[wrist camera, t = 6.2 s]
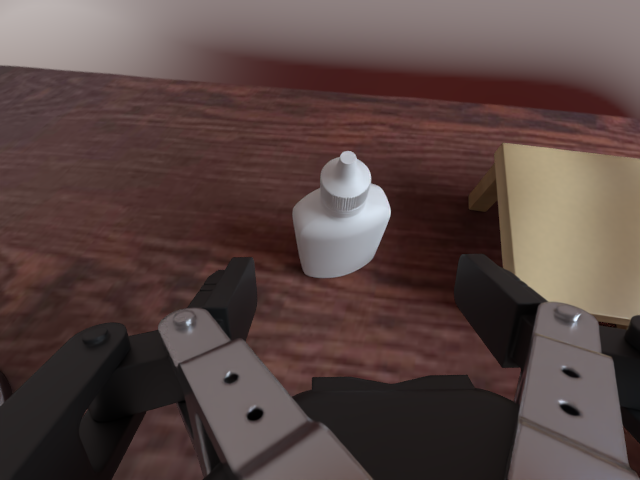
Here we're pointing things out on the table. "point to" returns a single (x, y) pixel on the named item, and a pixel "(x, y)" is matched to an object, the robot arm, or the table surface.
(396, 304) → the table surface
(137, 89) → the table surface
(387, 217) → the eye dropper bottle
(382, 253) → the table surface
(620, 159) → the stand
